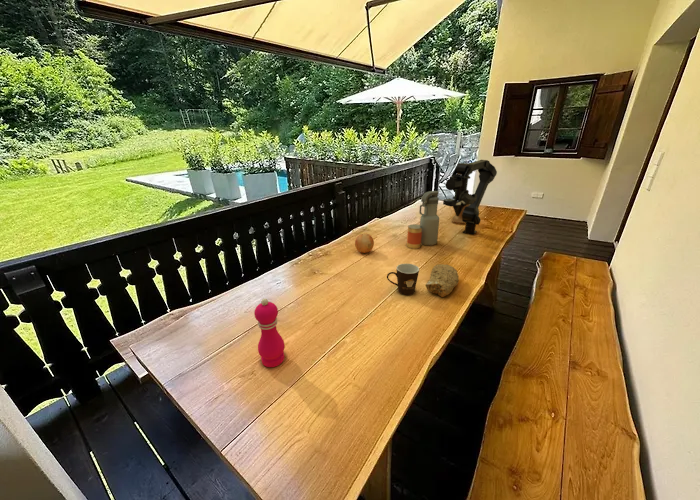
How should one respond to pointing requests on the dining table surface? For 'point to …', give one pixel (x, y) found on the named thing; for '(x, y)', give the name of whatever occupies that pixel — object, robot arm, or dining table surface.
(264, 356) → the pepper mill
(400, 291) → the coffee mug
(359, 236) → the onion
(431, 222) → the water bottle
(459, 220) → the stone cup
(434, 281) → the rock
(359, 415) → the dining table surface
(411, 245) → the tin can
